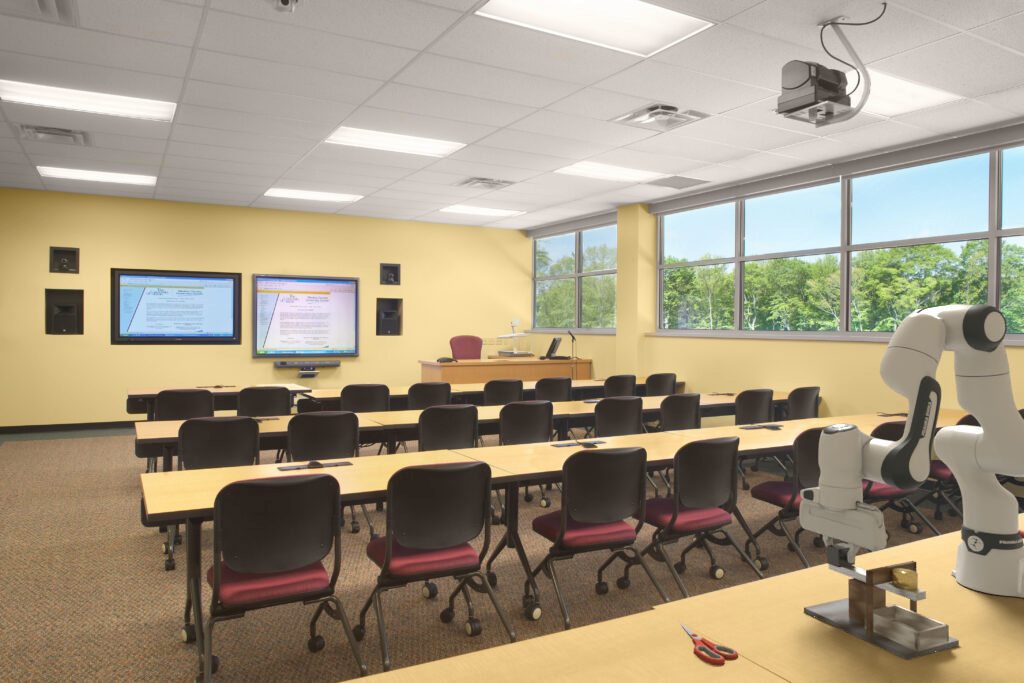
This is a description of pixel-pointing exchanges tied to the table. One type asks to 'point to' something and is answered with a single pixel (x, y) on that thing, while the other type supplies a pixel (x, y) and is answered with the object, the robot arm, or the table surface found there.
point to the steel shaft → (863, 571)
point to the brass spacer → (905, 579)
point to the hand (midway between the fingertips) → (841, 558)
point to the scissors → (710, 649)
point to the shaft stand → (884, 617)
